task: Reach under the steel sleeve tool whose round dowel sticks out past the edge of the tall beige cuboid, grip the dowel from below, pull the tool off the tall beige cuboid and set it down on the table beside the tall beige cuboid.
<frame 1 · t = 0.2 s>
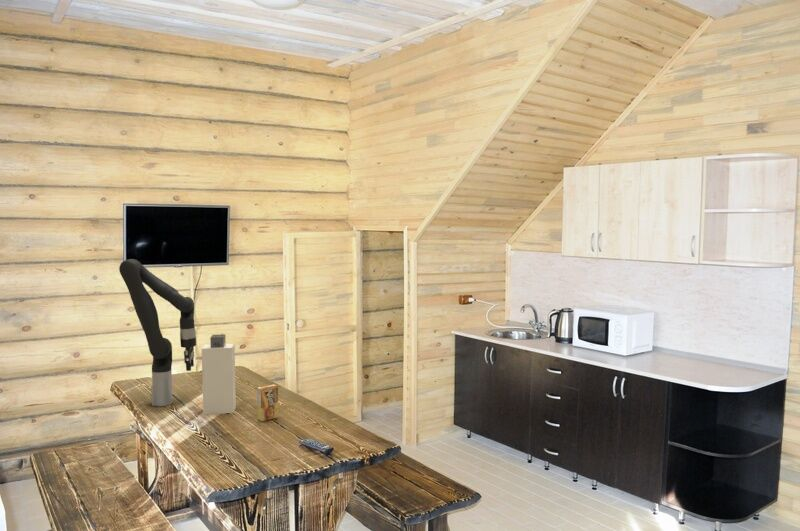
hand: (190, 368, 319), 18 cm above the table, tool pointing down, fingers open, 8 cm apart
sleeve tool: (219, 344, 308), point 32 cm above the table, touching tall beige cuboid
candy box: (268, 418, 296), on the table
tall beige cuboid: (219, 410, 308), on the table
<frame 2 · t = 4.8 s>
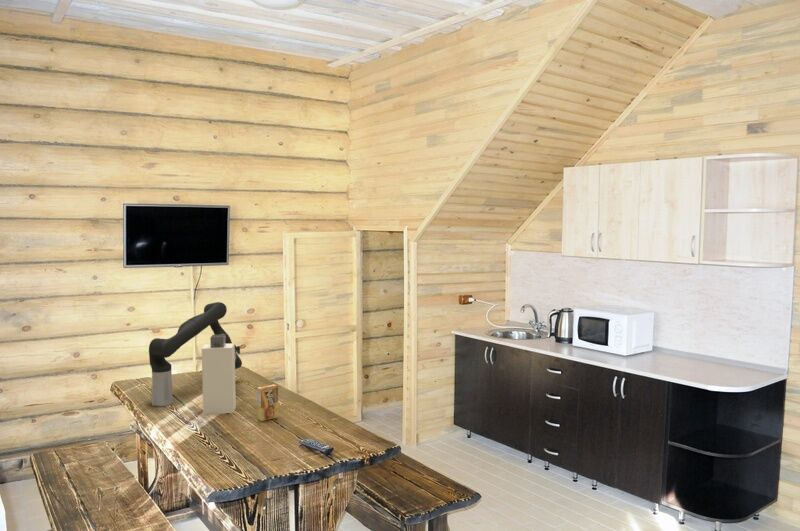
hand: (224, 345, 326), 27 cm above the table, tool pointing upward, fingers open, 8 cm apart
nothing on the table moved.
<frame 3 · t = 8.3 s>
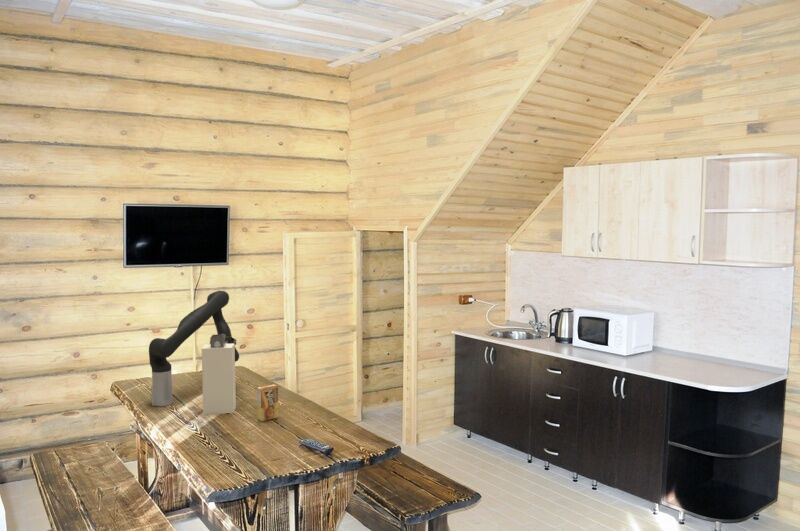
hand: (220, 336, 313), 35 cm above the table, tool pointing upward, fingers closed on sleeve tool, 3 cm apart
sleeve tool: (219, 344, 308), point 32 cm above the table, touching gripper, tall beige cuboid
everything else where it was.
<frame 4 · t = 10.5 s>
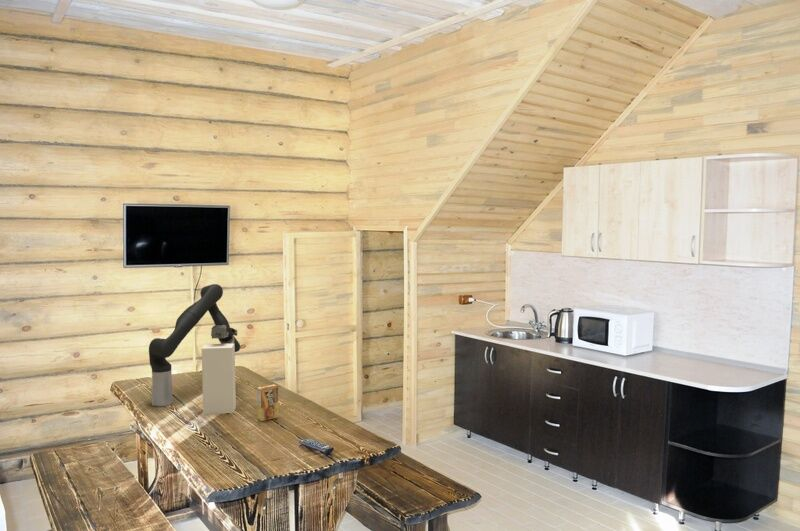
hand: (221, 327, 317), 39 cm above the table, tool pointing upward, fingers closed on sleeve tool, 3 cm apart
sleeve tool: (220, 335, 312), point 36 cm above the table, touching gripper
everything else where it was.
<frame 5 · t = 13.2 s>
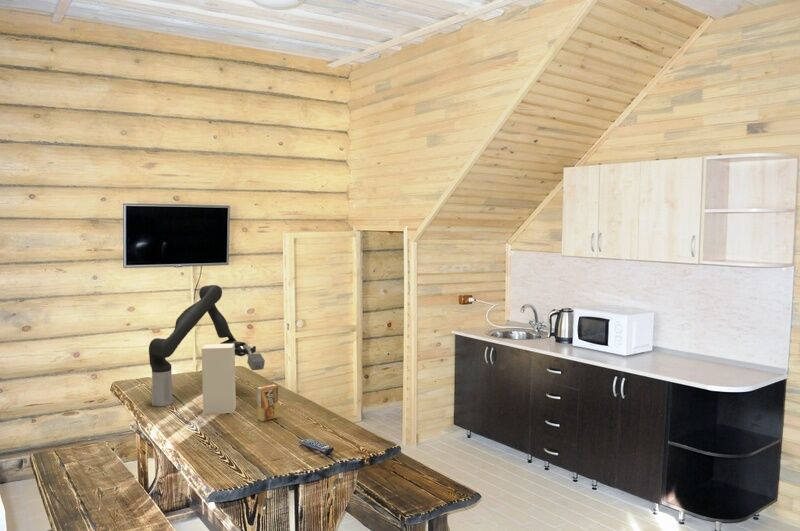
hand: (250, 351, 324), 25 cm above the table, tool horizontal, fingers closed on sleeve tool, 3 cm apart
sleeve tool: (252, 362, 322), point 20 cm above the table, tilted 23°, touching gripper
everything else where it was.
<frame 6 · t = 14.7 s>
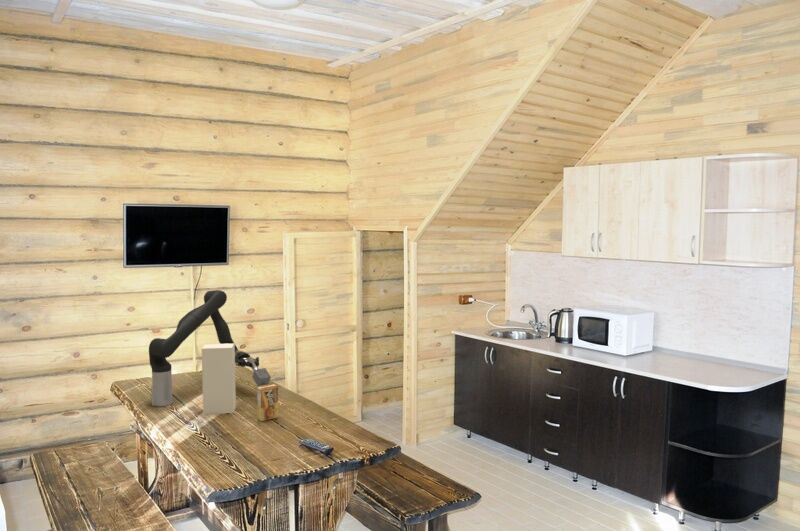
hand: (254, 364, 326), 18 cm above the table, tool horizontal, fingers closed on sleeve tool, 3 cm apart
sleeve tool: (257, 376, 324), point 13 cm above the table, tilted 29°, touching gripper
everything else where it was.
when the fingers open (10 cm above the table, at t = 16.2 s): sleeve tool drops 5 cm, on the table.
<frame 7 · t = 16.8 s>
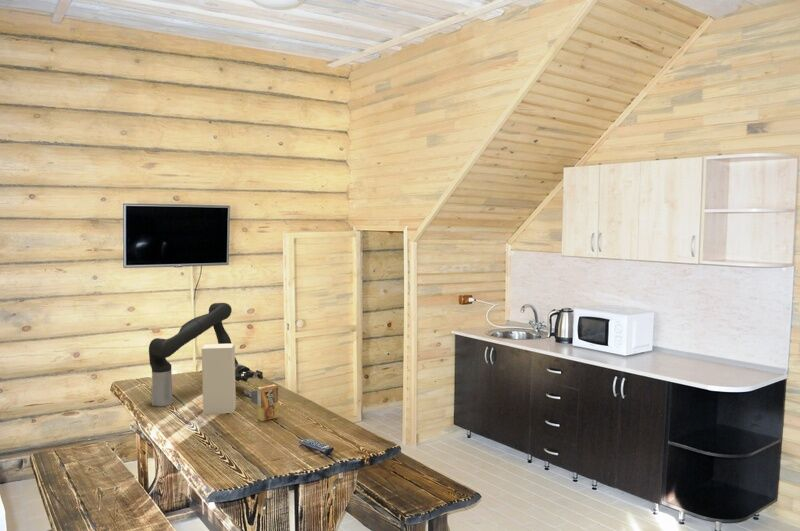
hand: (254, 378, 327), 10 cm above the table, tool horizontal, fingers open, 8 cm apart
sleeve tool: (256, 399, 326), on the table
everything else where it was.
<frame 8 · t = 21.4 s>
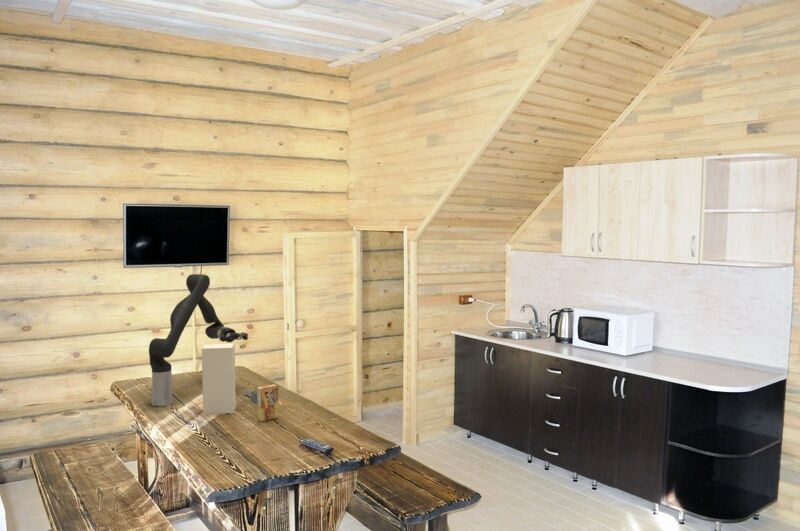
hand: (239, 339, 331), 30 cm above the table, tool horizontal, fingers open, 8 cm apart
nothing on the table moved.
at the end: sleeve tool on the table; the gripper is holding nothing; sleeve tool inside the target area (4.0 cm from its centre), on the table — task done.
